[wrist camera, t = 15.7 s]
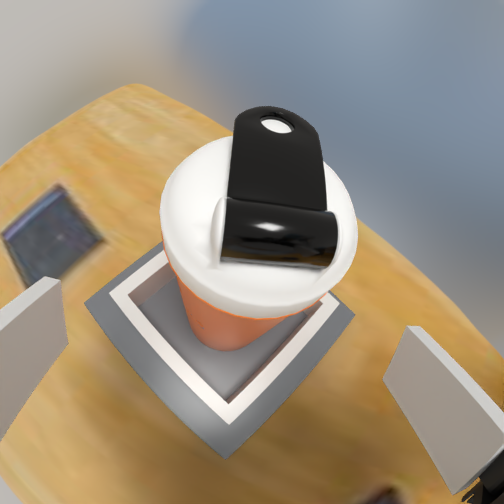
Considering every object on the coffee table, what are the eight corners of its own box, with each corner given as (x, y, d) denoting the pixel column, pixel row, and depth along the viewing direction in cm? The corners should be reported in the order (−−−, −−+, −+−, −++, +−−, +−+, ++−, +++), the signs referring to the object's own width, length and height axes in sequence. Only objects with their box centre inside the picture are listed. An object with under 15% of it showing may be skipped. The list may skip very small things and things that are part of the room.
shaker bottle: (263, 270, 30) (346, 108, 13) (277, 356, 26) (421, 268, 9) (176, 274, 28) (163, 92, 11) (182, 364, 24) (144, 287, 7)
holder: (351, 317, 31) (374, 302, 26) (224, 457, 22) (230, 470, 17) (225, 201, 35) (230, 173, 31) (86, 306, 26) (69, 288, 22)
